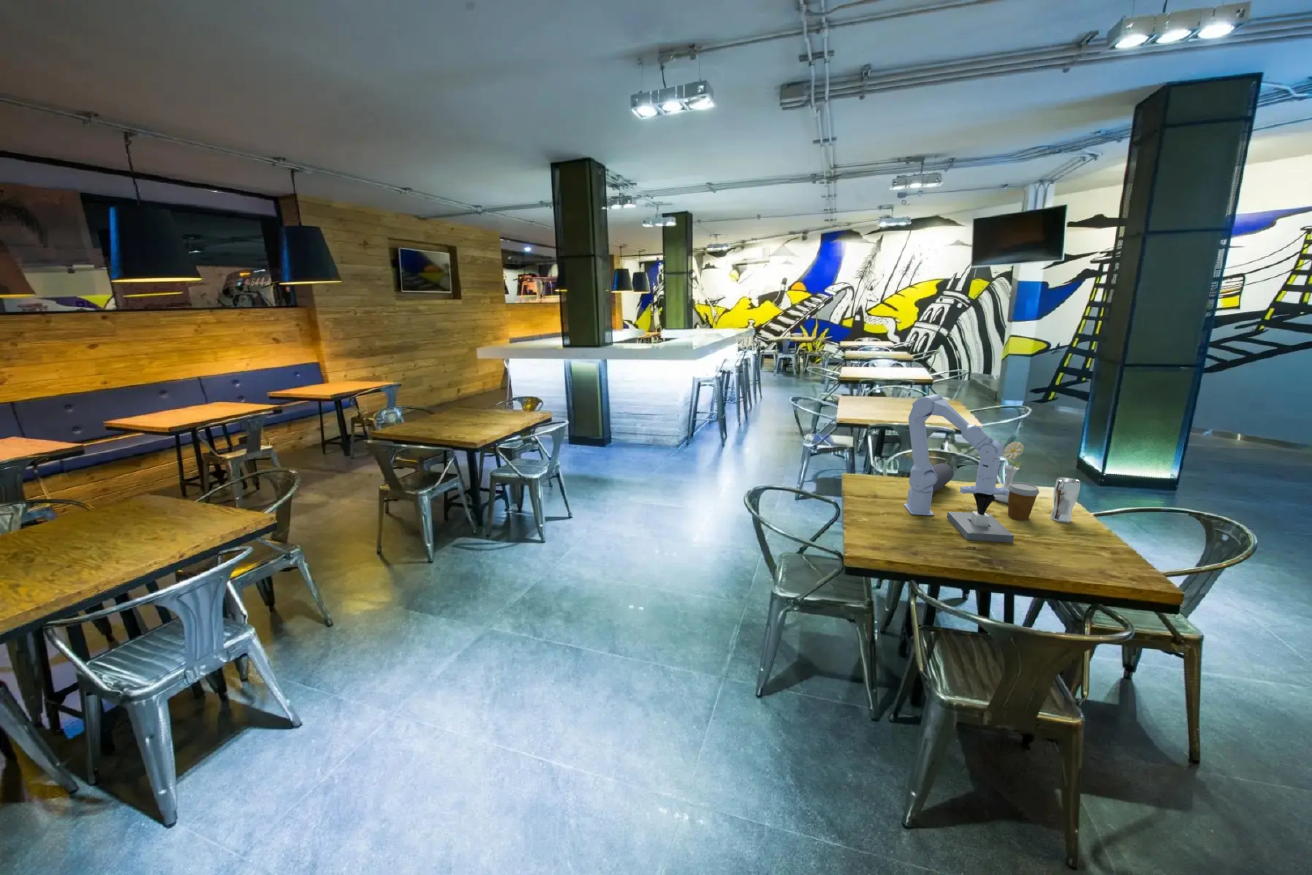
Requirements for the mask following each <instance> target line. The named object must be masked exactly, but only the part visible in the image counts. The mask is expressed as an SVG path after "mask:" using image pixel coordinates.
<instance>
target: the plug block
mask: <svg viewBox="0 0 1312 875" xmlns="http://www.w3.org/2000/svg"><path fill="white" fill-rule="evenodd" d="M971 513H972V516H971V522H970V523H971V524H972V525H973V526H986V527H988V524H989V518H990V516H989V515H987V514H988V513H986V512H985V514H984V515H980V514H978V513H977V510H976V511H971Z"/></svg>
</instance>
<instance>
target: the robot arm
mask: <svg viewBox="0 0 1312 875" xmlns="http://www.w3.org/2000/svg"><path fill="white" fill-rule="evenodd" d="M911 405H912V407H911V410H910V413H909V415H908V426H909V427H908V428H909V436H910V443H911V444H910V445H911V451H912V453H911V454H912V462H913V465H912V467H911V469H910V477H909V479H908V484H909V485H910V487H909V489H908V492H907V497H906V498H907V500H906V503H904V504H903V505H904V507H905V508H906V509H907V511H908V512H909V513H910V514H911V515H917V516H919V515H922V516H935V513H934V512H932V510H931V507H932V499H933V494H934V493H933V485H935V484H936V482H937V480H938V478H937V475H936V473H935V471H934V467H933V466H934V465H932V463H931V460H930V452H929V443H928V435H927V426H926V421H927V420H928V419H929V418H930V417H931V416H937V417H943V418H944V419H945V420H947V421H948V422H949V423H950V424H952V425H953V426H954V427H956V428H957V429H958V430H959V431H960V432H961V437H962V439H964V440H965V441H966V442H967V443H969V445H971V446H972V447H973V448H974V449H975V450H977V454H978V457H979V461H978V469H977V473H976V478H975V480H976V481H975V485H970V486H969V485H967V486H960V489H959V492H960V493H961V495H962V494H963V495H964V494H965V495H966V494H972V495H973V497H974V500H975V503H976V512H977V513H978V514H980V515H984V514H985V513H986V512H987V509H988V508H989V506H990V505H991V504H992V503H993V502H994V501H995V500H996V499H995V497H994V495H1005V496H1009V490H1008V489H1004V488H998V487H996V486H997V480H998V474H999V468H1000V463H1001V462H1000V461H1001V456H1003V454H1004V450H1005V445H1004V444H1003V443H1002V442H1001V440H996V439H994V437H992V436H990V435H988V434H987V433H986V432H985V431H984V430H983V427H982V426H980V425H976V424H970V423H969V422H968V421H967V420H966V419H965V418H964V417H963V416H962V415H961V414H960V413H959V412H958V411H957V410H955V408H954V407H953V406H951V405H950V403H949V401H948V400H946V399H945V398H943V397H942V395H940V394H937V393H933V394H930V395H926V396H921V397H918V398H917V399H916V400H915V401H913V403H912V404H911ZM932 493H933V494H932Z"/></svg>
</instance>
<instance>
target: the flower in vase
mask: <svg viewBox="0 0 1312 875" xmlns="http://www.w3.org/2000/svg"><path fill="white" fill-rule="evenodd" d="M1024 449H1025V446H1024V444H1023V443H1022V442H1020V441H1016V440H1015V441H1012V442H1010V443H1009V444H1007V446H1004V453H1003V454H1002V456H1003V458H1005V459H1006V461H1008V462H1009V463H1010V464H1011V465H1007V464H1006V465H1003V468H1004V469H1005V476H1006V477H1005V482H1004V483H1003V484H1002V485H1001V486H999V487H997V488H1004V489H1008V488H1007V487H1008V486H1009V484H1010V483H1012V482H1014V481H1013V480H1014V476H1015V474H1016V473H1017V471H1019V470H1020V469H1023V467H1022V462H1021V461H1019V458H1018V457H1020V456H1021V455H1022V454H1023V452H1024ZM1015 459H1016V461H1015V462H1014V461H1013V460H1015ZM994 497H995V500H996V501H999V502H1002V503H1006V504H1008V496H1005V495H994Z"/></svg>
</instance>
